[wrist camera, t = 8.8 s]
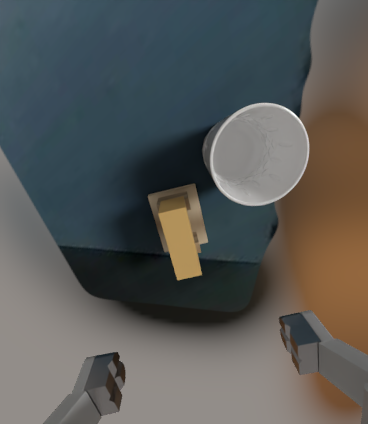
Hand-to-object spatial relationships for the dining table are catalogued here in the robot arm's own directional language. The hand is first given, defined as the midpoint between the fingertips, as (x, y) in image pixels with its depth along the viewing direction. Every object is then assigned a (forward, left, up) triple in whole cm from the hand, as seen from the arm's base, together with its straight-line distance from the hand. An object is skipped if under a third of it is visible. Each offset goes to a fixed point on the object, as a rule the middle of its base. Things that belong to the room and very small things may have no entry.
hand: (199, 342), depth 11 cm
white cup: (-6, +7, -20) cm, 22 cm away
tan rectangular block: (+1, -1, -15) cm, 15 cm away
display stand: (+1, -1, -19) cm, 19 cm away
